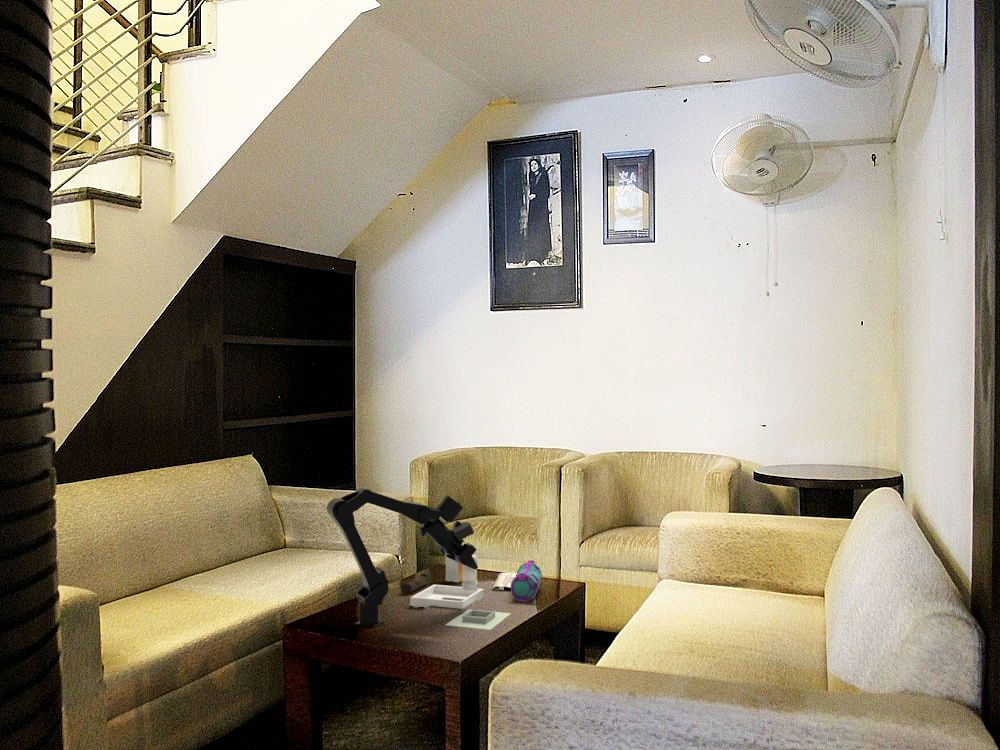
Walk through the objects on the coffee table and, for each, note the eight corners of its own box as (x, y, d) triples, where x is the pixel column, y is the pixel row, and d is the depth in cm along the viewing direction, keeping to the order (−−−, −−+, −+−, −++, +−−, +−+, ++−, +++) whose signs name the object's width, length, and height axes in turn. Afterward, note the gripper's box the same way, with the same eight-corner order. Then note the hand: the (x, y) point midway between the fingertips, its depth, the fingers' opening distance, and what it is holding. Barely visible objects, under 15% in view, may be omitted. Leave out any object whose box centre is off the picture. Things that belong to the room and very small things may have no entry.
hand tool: (410, 595, 284) (410, 581, 284) (400, 594, 286) (400, 580, 286) (437, 583, 301) (437, 570, 301) (427, 582, 303) (427, 569, 303)
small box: (457, 583, 301) (457, 553, 301) (445, 581, 304) (445, 551, 304) (470, 578, 308) (470, 549, 308) (458, 576, 311) (458, 548, 311)
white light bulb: (477, 590, 262) (477, 557, 263) (462, 590, 262) (462, 557, 262) (477, 586, 267) (477, 554, 267) (461, 586, 267) (461, 554, 267)
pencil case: (537, 603, 273) (537, 573, 273) (510, 602, 274) (510, 573, 274) (542, 588, 294) (542, 560, 294) (516, 587, 295) (516, 559, 295)
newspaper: (494, 577, 312) (495, 570, 312) (527, 581, 311) (528, 575, 311) (486, 592, 290) (487, 584, 290) (521, 596, 288) (522, 589, 288)
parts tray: (462, 611, 263) (462, 602, 263) (410, 606, 269) (410, 597, 269) (483, 597, 280) (483, 588, 280) (433, 593, 286) (433, 584, 286)
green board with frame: (490, 633, 241) (490, 624, 241) (445, 628, 245) (445, 619, 245) (511, 616, 258) (511, 608, 258) (468, 612, 262) (468, 604, 262)
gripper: (470, 518, 255) (503, 552, 260) (446, 510, 272) (477, 542, 276) (445, 547, 251) (479, 580, 256) (423, 536, 268) (455, 568, 273)
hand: (473, 566), depth 265 cm, fingers closed on white light bulb, 5 cm apart
